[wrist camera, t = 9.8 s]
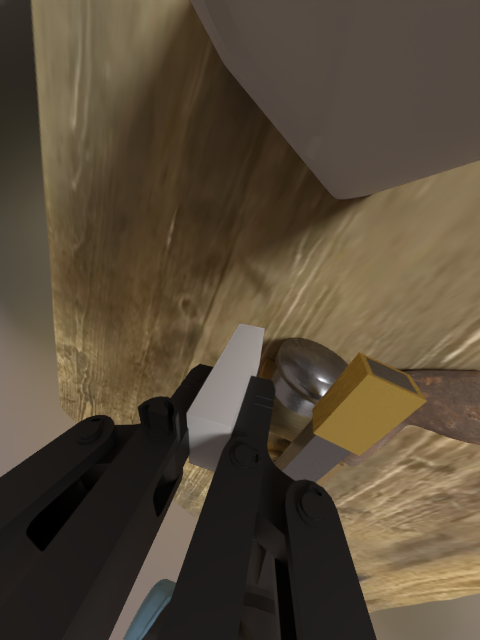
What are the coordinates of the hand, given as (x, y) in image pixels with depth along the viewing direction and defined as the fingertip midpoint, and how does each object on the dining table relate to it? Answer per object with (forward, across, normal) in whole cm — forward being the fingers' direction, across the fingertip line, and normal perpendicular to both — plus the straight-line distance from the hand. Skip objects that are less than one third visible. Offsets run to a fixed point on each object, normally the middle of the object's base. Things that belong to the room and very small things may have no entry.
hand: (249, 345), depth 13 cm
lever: (0, +5, -7) cm, 9 cm away
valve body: (+10, +3, -13) cm, 17 cm away
